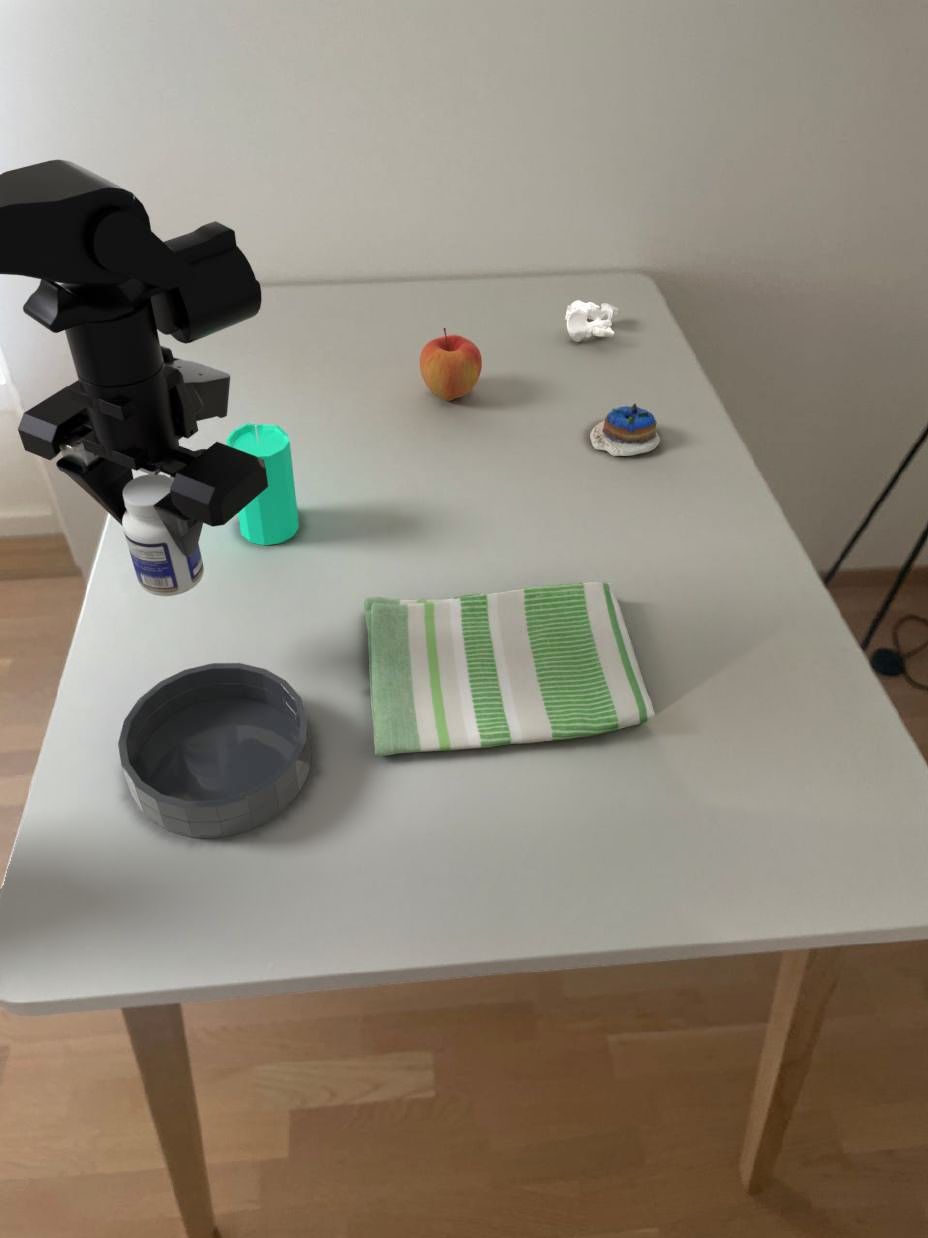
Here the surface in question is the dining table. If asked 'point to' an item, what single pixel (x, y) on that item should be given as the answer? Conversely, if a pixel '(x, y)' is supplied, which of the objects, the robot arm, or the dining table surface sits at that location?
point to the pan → (216, 749)
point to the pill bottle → (156, 540)
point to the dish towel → (501, 669)
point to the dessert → (626, 432)
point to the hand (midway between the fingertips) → (162, 541)
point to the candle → (276, 505)
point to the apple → (450, 366)
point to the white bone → (582, 311)
